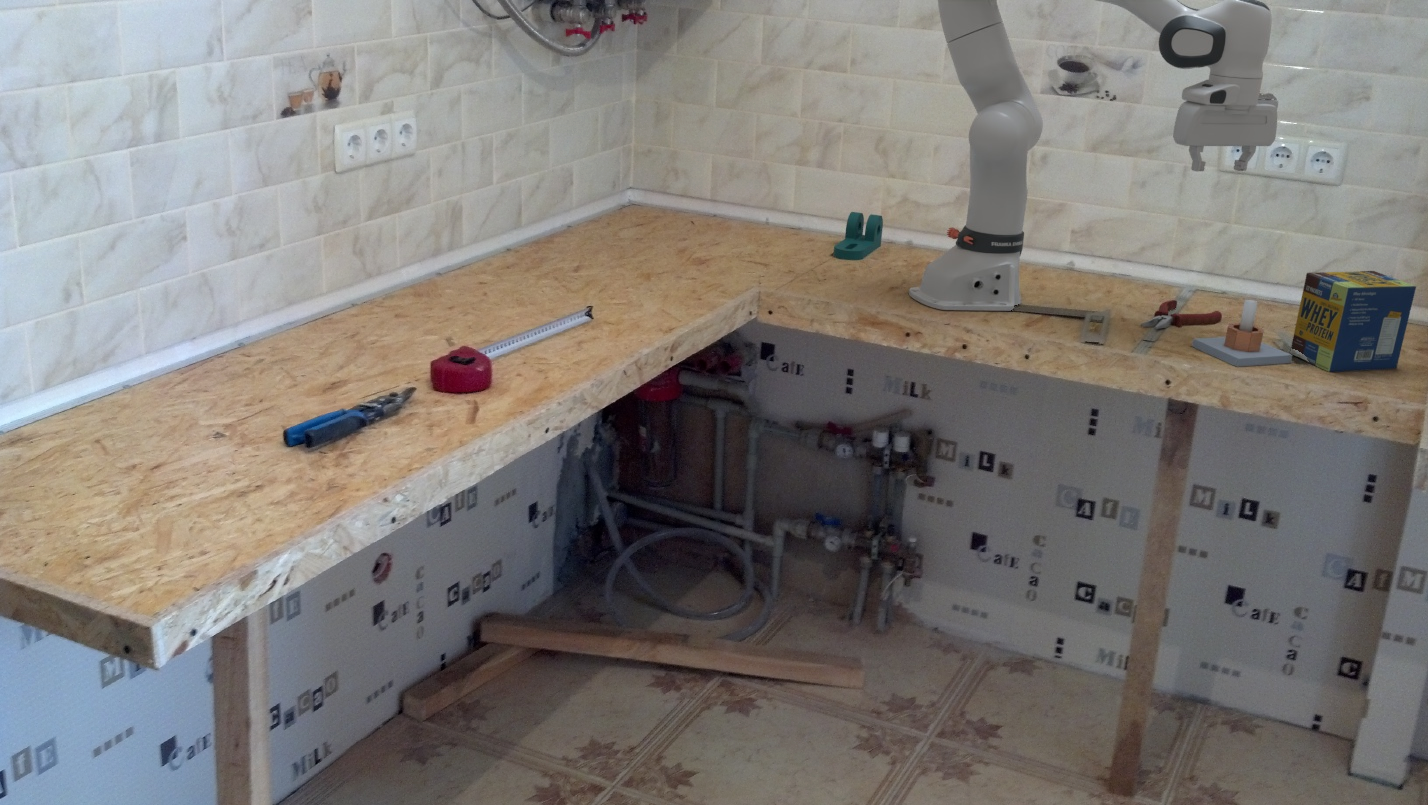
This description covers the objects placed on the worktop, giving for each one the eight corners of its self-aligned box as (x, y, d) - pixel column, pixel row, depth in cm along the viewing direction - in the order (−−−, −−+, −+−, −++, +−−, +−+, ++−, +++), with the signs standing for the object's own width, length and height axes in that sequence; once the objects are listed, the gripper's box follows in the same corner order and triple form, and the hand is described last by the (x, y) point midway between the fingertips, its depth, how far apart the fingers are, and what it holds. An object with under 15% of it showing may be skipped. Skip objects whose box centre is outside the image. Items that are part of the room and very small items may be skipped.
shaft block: (1236, 366, 238) (1247, 311, 235) (1191, 346, 249) (1201, 293, 246) (1290, 363, 243) (1302, 309, 239) (1244, 343, 253) (1254, 291, 250)
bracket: (852, 243, 315) (855, 209, 313) (880, 247, 313) (884, 213, 310) (829, 258, 299) (832, 223, 297) (859, 262, 297) (862, 227, 294)
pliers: (1119, 325, 262) (1121, 312, 261) (1169, 309, 275) (1171, 297, 275) (1174, 340, 254) (1177, 327, 253) (1223, 323, 268) (1225, 311, 267)
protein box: (1287, 354, 248) (1305, 271, 243) (1356, 351, 253) (1374, 270, 247) (1328, 372, 239) (1347, 287, 233) (1398, 369, 243) (1418, 285, 238)
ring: (1240, 352, 242) (1243, 333, 240) (1217, 342, 247) (1221, 324, 246) (1267, 350, 244) (1270, 332, 242) (1244, 341, 249) (1247, 322, 248)
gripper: (1266, 91, 247) (1252, 167, 252) (1174, 89, 240) (1161, 168, 244) (1292, 95, 241) (1276, 173, 246) (1198, 94, 234) (1184, 174, 239)
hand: (1218, 170), depth 245 cm, fingers open, 8 cm apart
